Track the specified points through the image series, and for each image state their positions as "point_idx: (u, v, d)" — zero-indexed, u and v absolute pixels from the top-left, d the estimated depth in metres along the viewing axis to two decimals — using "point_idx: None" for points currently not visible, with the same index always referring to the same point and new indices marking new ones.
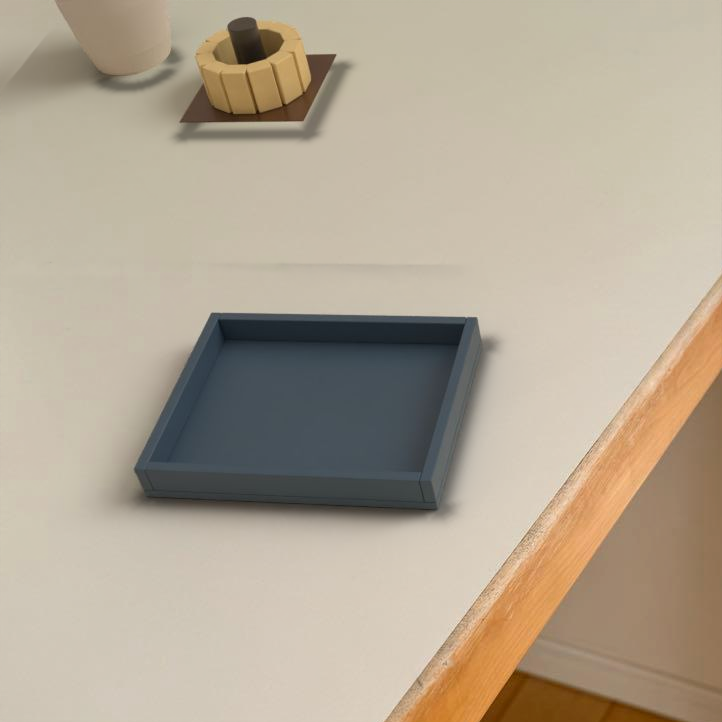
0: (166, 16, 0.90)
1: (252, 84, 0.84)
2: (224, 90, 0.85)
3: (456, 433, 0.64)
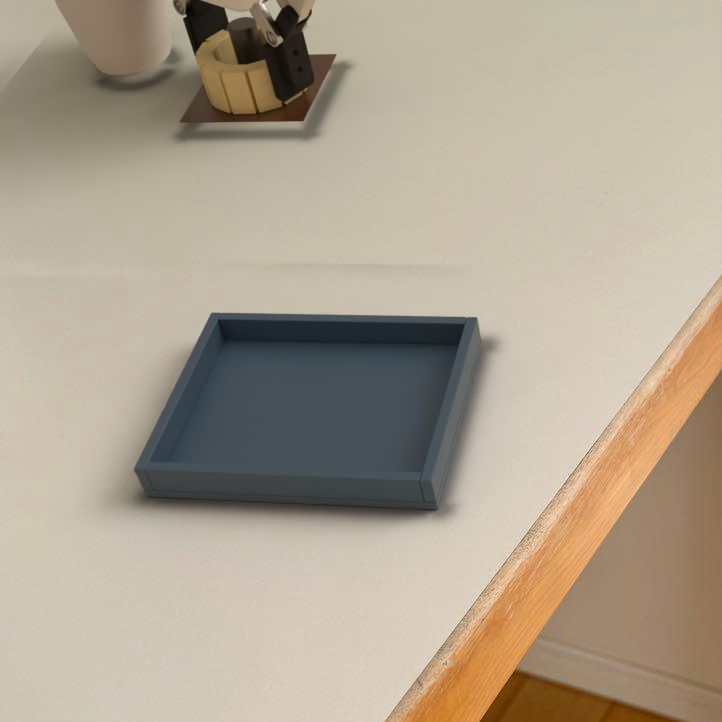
0: (166, 16, 0.90)
1: (252, 84, 0.84)
2: (224, 90, 0.85)
3: (456, 433, 0.64)
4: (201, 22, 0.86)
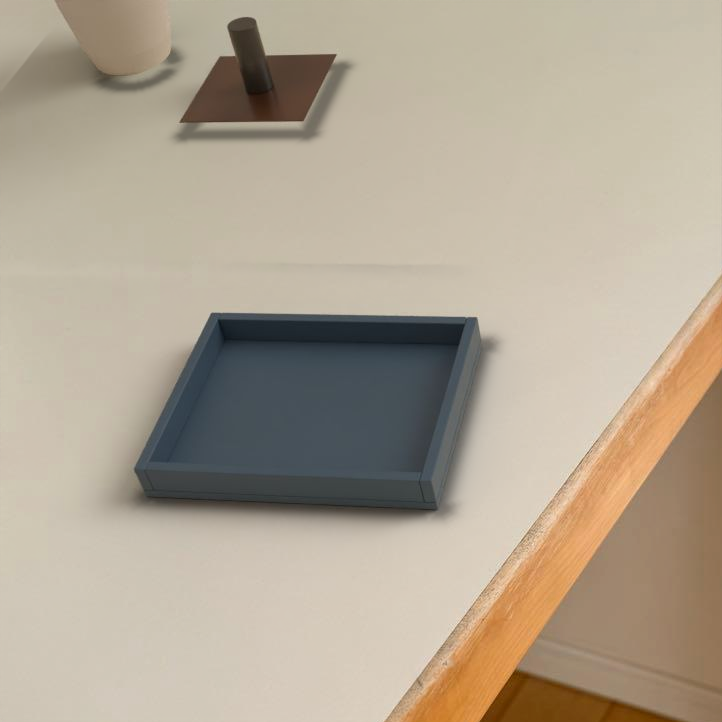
0: (166, 16, 0.90)
1: None
2: None
3: (456, 433, 0.64)
4: None
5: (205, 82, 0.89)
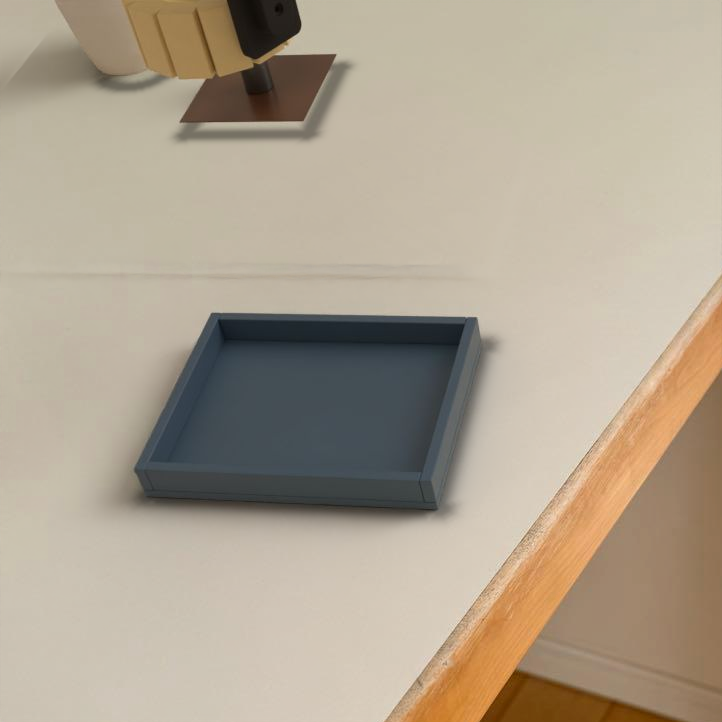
0: None
1: (206, 31, 0.54)
2: (163, 42, 0.55)
3: (456, 433, 0.64)
4: None
5: (205, 82, 0.89)
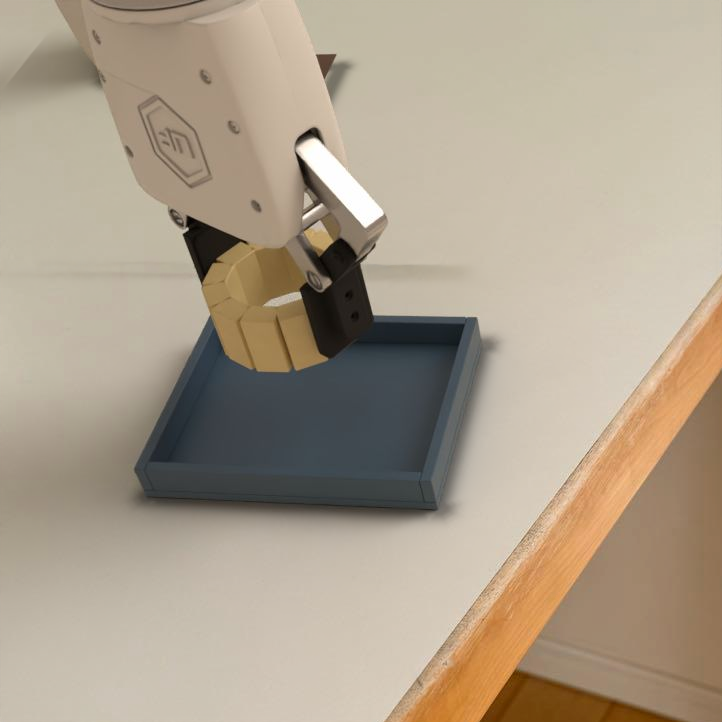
0: None
1: (285, 336, 0.57)
2: (244, 341, 0.58)
3: (456, 433, 0.64)
4: (209, 238, 0.59)
5: None
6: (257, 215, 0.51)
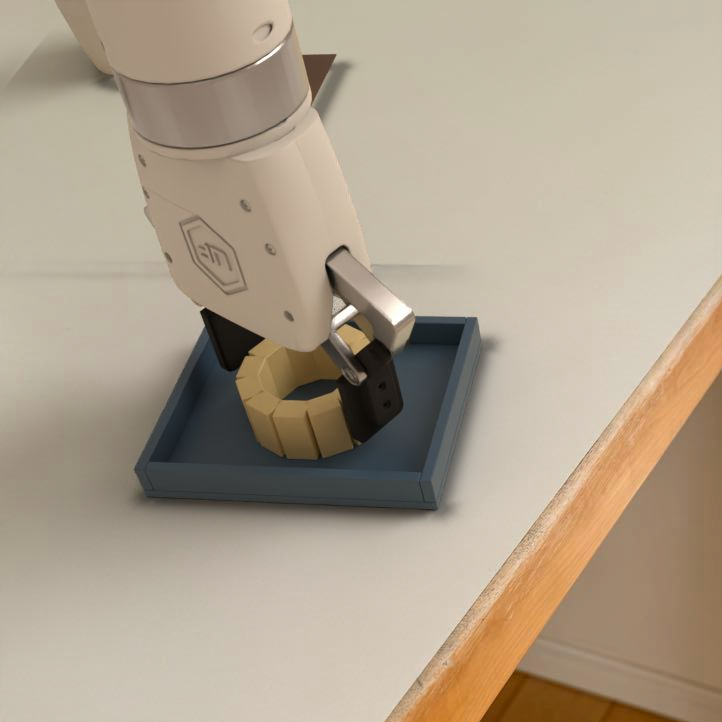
0: None
1: (314, 428, 0.61)
2: (276, 432, 0.62)
3: (456, 433, 0.64)
4: None
5: None
6: (289, 324, 0.55)
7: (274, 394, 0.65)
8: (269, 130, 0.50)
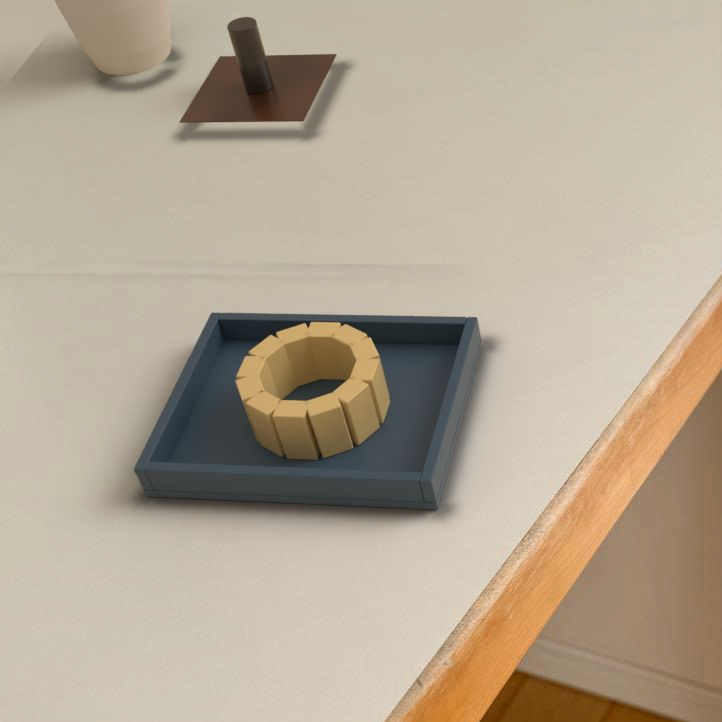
0: (166, 16, 0.90)
1: (314, 428, 0.61)
2: (276, 432, 0.62)
3: (456, 433, 0.64)
4: None
5: (205, 82, 0.89)
6: None
7: (274, 394, 0.65)
8: None
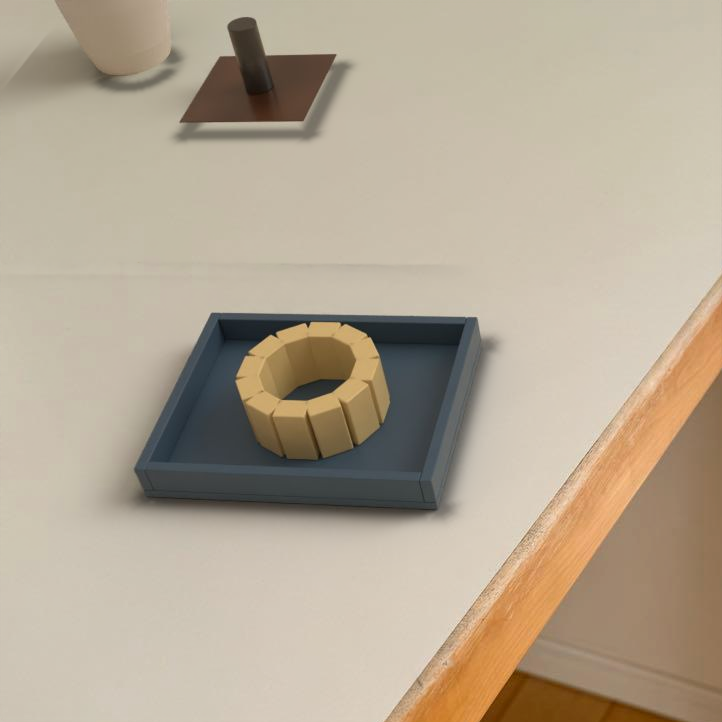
0: (166, 16, 0.90)
1: (314, 428, 0.61)
2: (276, 432, 0.62)
3: (456, 433, 0.64)
4: None
5: (205, 82, 0.89)
6: None
7: (274, 394, 0.65)
8: None
